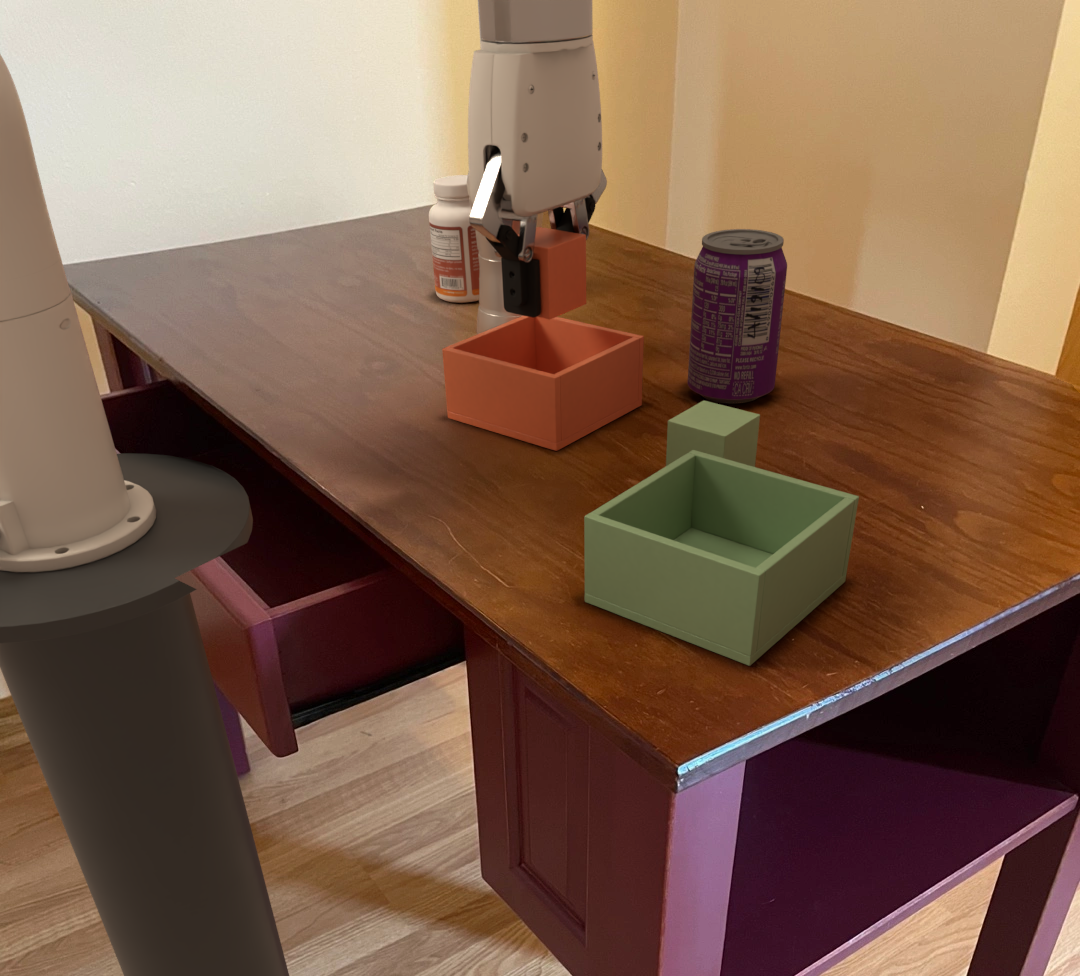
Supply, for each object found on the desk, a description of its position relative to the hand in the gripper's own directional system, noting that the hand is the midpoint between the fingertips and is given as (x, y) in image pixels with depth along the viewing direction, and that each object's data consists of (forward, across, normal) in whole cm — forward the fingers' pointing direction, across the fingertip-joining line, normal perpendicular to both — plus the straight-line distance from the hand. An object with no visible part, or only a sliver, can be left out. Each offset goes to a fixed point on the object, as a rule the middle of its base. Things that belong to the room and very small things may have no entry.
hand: (544, 301), depth 82 cm
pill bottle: (+9, -20, -27) cm, 35 cm away
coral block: (0, 0, 0) cm, 0 cm away
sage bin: (+9, +16, +26) cm, 32 cm away
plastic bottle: (+9, -8, -10) cm, 16 cm away
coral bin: (+9, 0, 0) cm, 9 cm away
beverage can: (+9, -12, +10) cm, 18 cm away
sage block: (+9, +4, +18) cm, 20 cm away
